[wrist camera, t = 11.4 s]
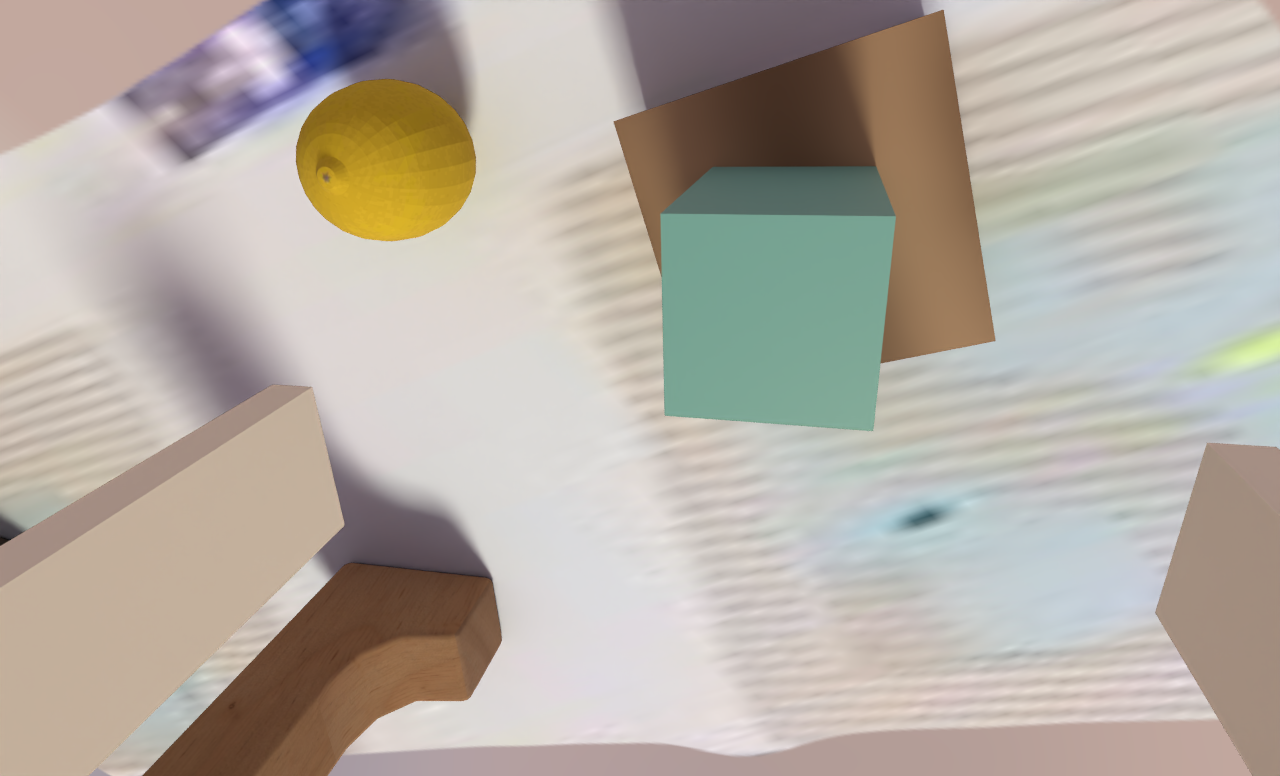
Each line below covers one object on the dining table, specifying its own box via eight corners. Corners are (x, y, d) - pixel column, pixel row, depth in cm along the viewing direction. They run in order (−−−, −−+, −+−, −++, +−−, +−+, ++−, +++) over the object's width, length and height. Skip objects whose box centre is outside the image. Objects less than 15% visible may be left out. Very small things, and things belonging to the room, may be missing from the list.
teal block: (711, 316, 26) (664, 415, 18) (712, 166, 24) (660, 214, 16) (861, 322, 24) (873, 431, 17) (876, 166, 22) (896, 216, 15)
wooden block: (494, 575, 39) (261, 933, 23) (505, 641, 41) (295, 1015, 25) (345, 559, 41) (38, 876, 25) (362, 622, 43) (85, 956, 27)
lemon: (492, 235, 31) (392, 288, 24) (374, 190, 32) (243, 229, 25) (520, 103, 29) (418, 119, 22) (392, 56, 29) (251, 56, 22)
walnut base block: (718, 349, 31) (699, 398, 27) (648, 110, 28) (613, 121, 24) (970, 295, 28) (995, 340, 24) (923, 17, 25) (943, 9, 20)
